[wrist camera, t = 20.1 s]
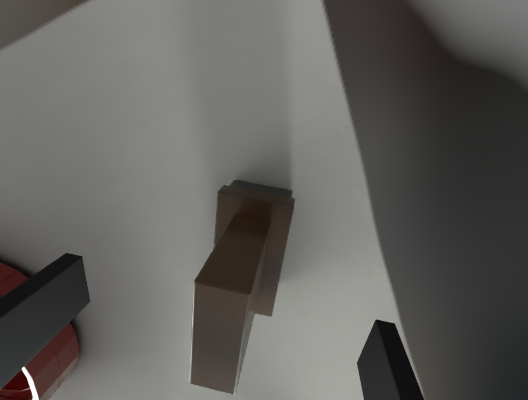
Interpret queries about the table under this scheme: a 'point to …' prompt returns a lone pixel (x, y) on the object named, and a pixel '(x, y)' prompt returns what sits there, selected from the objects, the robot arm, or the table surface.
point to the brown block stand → (237, 279)
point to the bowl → (40, 356)
